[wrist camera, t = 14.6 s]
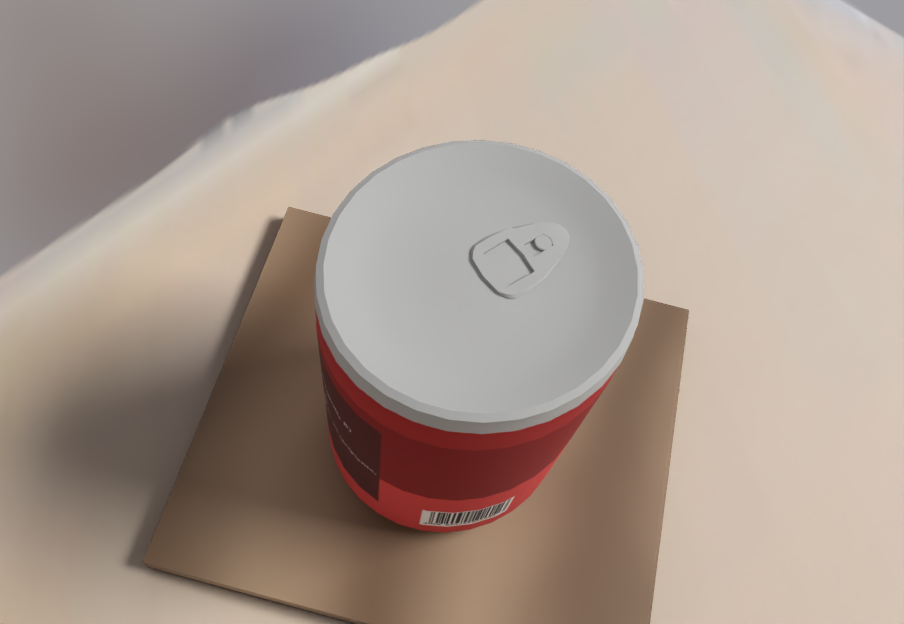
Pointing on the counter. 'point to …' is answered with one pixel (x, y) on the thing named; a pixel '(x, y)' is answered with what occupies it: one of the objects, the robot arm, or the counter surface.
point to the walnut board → (397, 546)
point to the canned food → (468, 326)
